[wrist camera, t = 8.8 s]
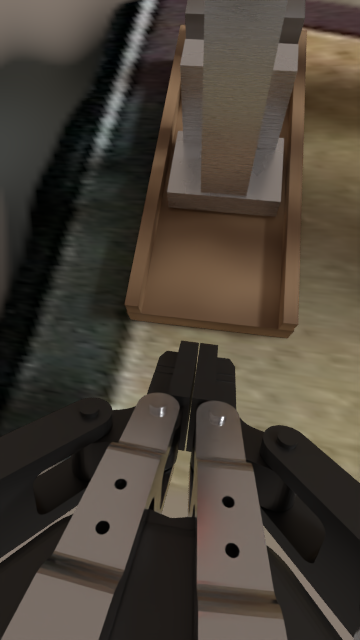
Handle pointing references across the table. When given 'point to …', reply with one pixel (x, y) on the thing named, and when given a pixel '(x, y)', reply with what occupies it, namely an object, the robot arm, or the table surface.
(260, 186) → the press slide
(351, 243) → the table surface
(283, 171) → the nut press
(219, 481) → the robot arm
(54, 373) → the table surface
